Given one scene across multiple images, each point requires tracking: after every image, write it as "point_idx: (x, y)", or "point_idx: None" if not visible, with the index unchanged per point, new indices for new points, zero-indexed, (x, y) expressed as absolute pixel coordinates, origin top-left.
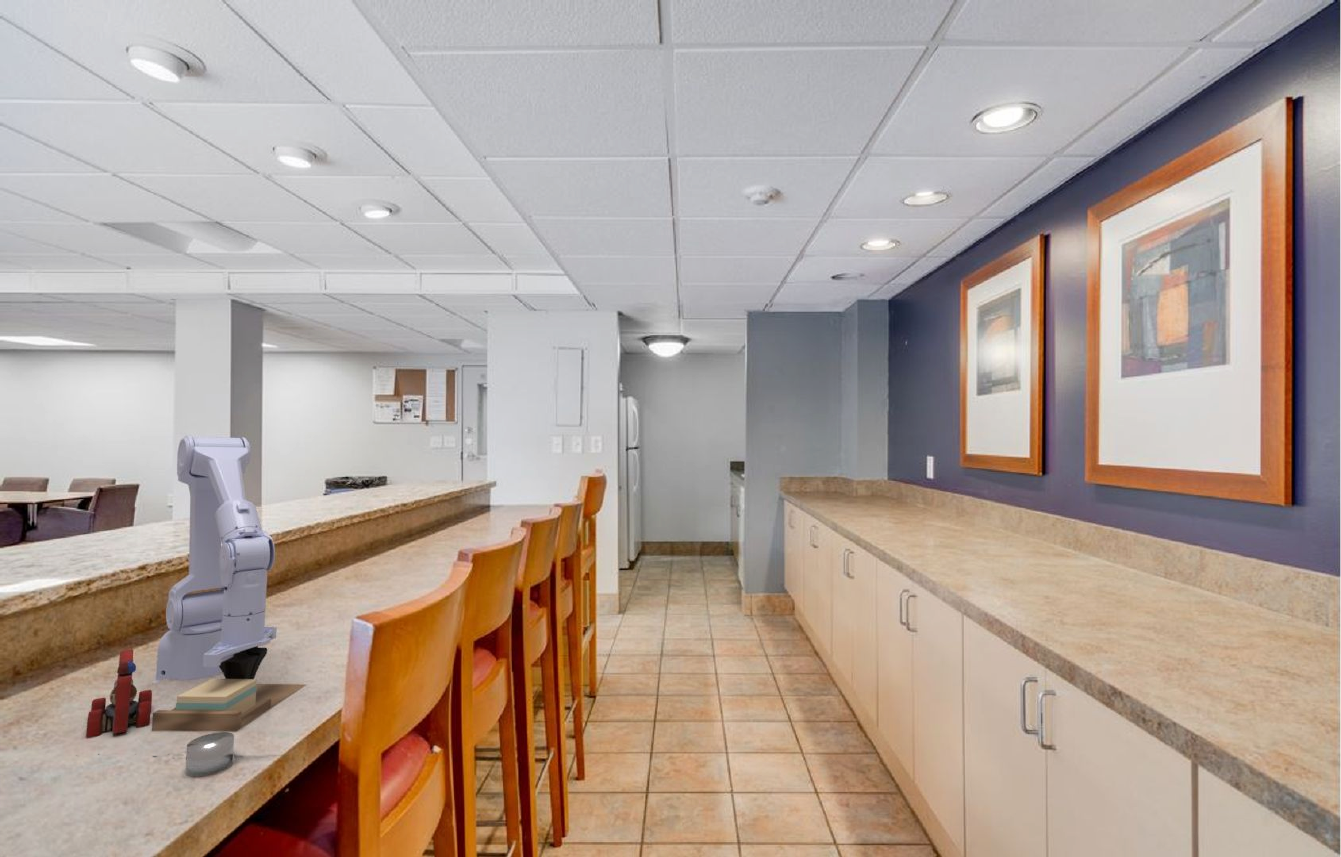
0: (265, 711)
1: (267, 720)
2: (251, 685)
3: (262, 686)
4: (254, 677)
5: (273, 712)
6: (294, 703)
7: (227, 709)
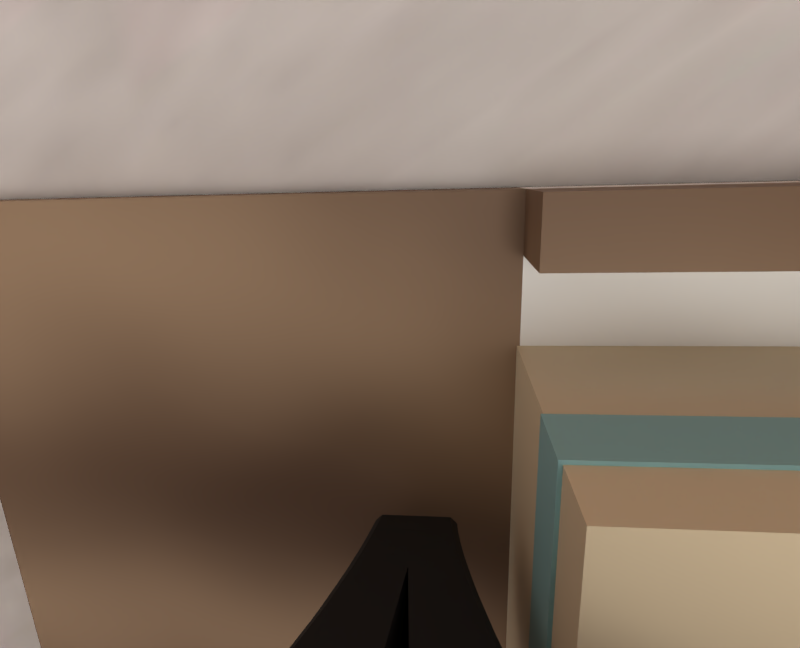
0: (618, 186)
1: (640, 136)
2: (708, 492)
3: (64, 551)
4: (305, 632)
5: None
6: (250, 125)
7: None
